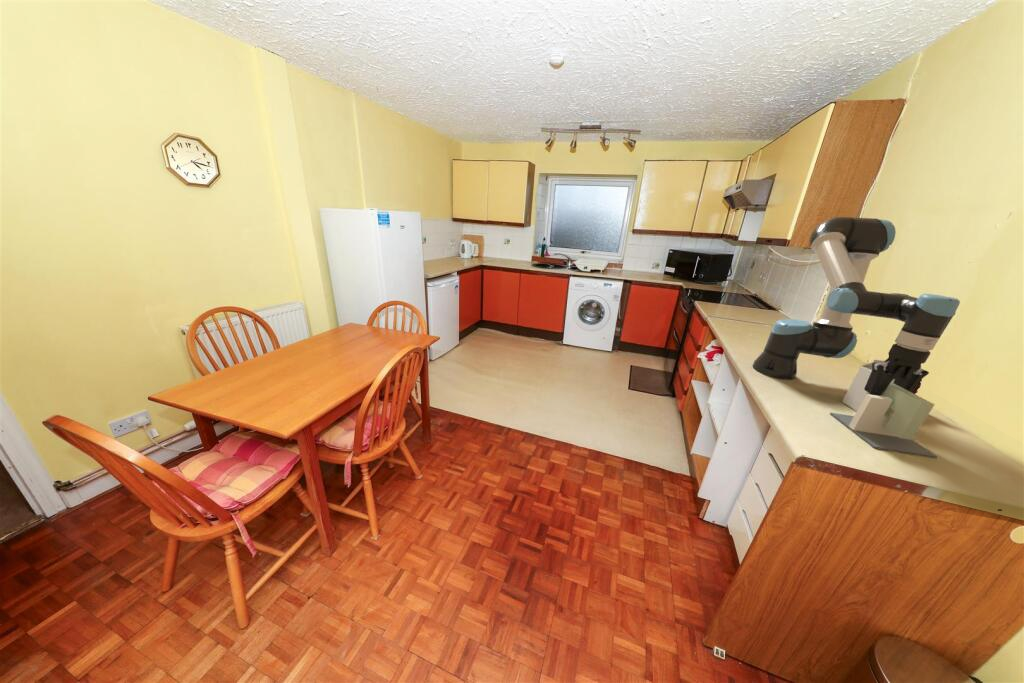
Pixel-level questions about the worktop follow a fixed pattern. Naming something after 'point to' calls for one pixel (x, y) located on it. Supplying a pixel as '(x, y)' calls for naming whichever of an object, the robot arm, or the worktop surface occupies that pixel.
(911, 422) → the pale green tall block
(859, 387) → the milk carton
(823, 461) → the worktop surface
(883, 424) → the notched wall on base
